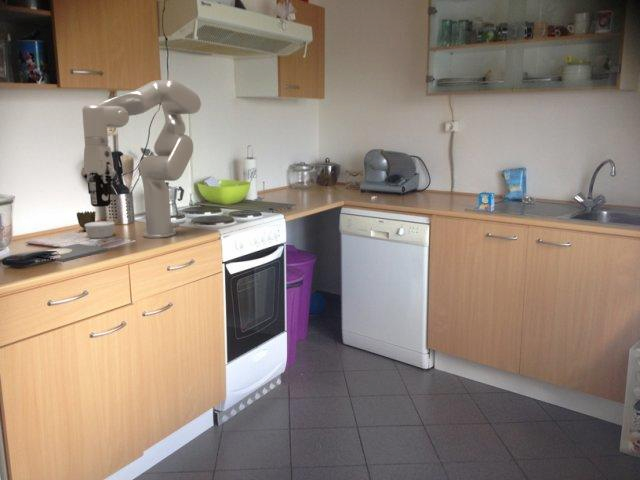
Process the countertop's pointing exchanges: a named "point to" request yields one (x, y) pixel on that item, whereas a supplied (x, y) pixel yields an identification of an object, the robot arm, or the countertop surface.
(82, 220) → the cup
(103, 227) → the ramekin
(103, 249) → the board
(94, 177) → the beverage can
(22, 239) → the countertop surface
